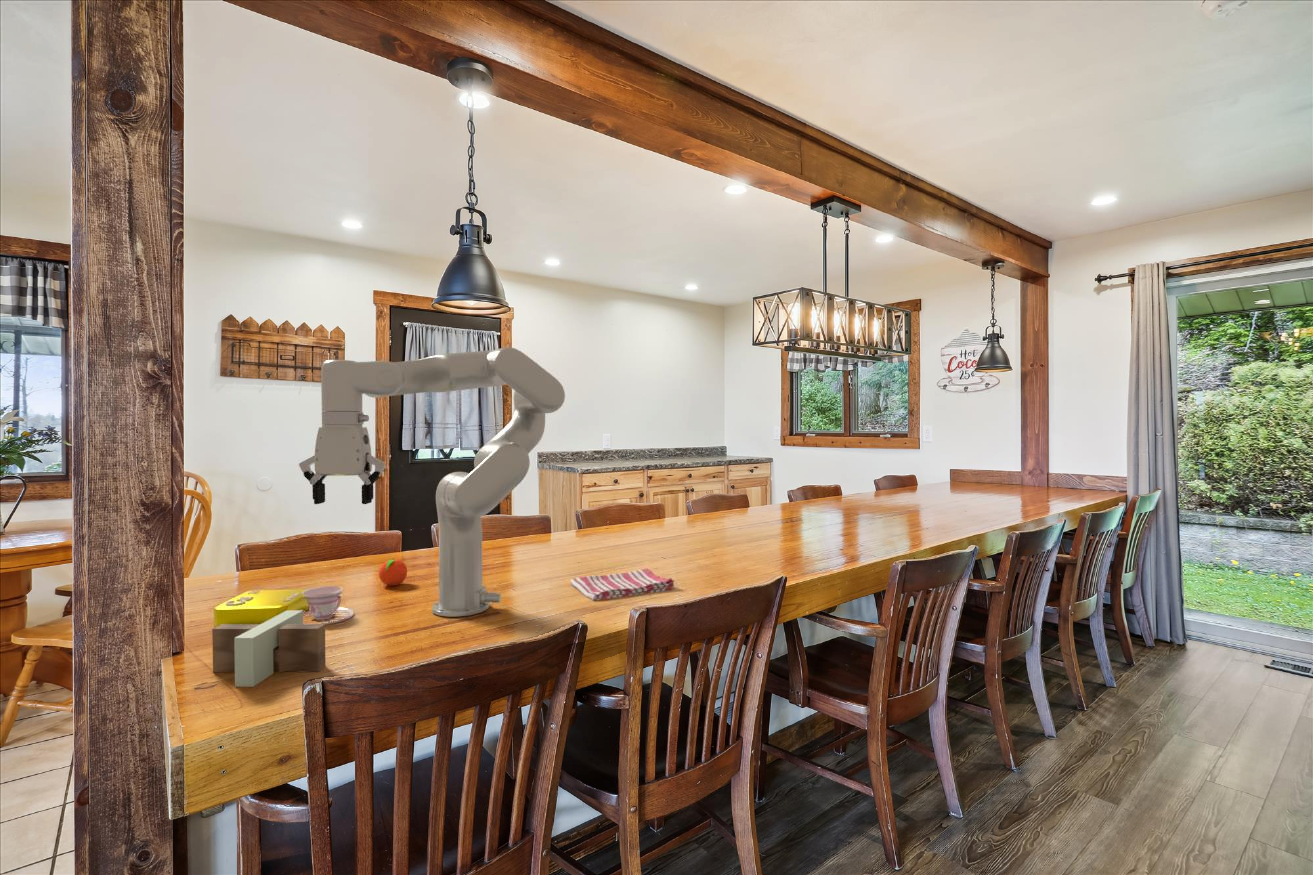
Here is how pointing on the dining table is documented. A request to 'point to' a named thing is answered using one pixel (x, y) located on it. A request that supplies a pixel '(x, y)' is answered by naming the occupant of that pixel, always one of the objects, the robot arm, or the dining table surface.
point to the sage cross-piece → (260, 649)
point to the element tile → (259, 606)
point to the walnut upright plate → (294, 652)
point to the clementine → (393, 572)
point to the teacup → (325, 603)
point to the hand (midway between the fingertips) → (343, 503)
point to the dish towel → (621, 584)
